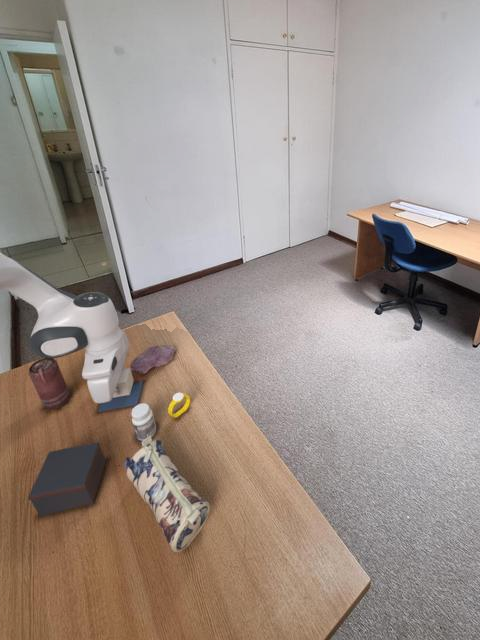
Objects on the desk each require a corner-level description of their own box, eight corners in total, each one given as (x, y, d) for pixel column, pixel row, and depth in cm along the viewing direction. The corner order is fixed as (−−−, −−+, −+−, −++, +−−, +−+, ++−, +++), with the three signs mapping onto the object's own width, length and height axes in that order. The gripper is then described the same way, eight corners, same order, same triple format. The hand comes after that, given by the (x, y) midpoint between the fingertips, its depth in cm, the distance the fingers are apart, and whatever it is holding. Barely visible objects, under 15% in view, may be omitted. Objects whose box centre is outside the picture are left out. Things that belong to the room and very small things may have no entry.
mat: (98, 412, 89) (97, 411, 89) (106, 388, 96) (106, 387, 96) (137, 405, 91) (137, 404, 91) (143, 382, 98) (143, 381, 98)
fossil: (126, 370, 102) (123, 358, 100) (168, 346, 112) (165, 333, 110) (139, 384, 97) (136, 371, 95) (181, 356, 107) (179, 344, 105)
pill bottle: (136, 427, 85) (129, 405, 81) (156, 421, 86) (150, 398, 83) (136, 444, 81) (129, 421, 77) (156, 437, 82) (150, 414, 79)
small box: (106, 398, 89) (101, 385, 87) (111, 384, 94) (107, 371, 92) (129, 394, 91) (125, 381, 88) (133, 380, 95) (130, 367, 93)
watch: (174, 423, 86) (170, 407, 83) (168, 417, 87) (164, 402, 85) (193, 407, 90) (190, 392, 88) (187, 402, 92) (184, 387, 89)
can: (46, 416, 88) (28, 378, 82) (43, 400, 92) (26, 363, 86) (72, 403, 91) (57, 366, 85) (68, 388, 95) (53, 352, 90)
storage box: (39, 516, 67) (27, 497, 64) (58, 470, 75) (48, 451, 72) (93, 504, 69) (84, 484, 66) (106, 460, 77) (99, 441, 74)
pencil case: (127, 482, 73) (117, 455, 69) (163, 453, 79) (156, 426, 75) (179, 568, 60) (171, 540, 56) (218, 526, 66) (212, 498, 62)
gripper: (105, 324, 94) (116, 360, 100) (78, 380, 76) (94, 420, 82) (129, 321, 95) (138, 356, 101) (108, 375, 77) (121, 415, 83)
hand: (118, 385), depth 91 cm, fingers closed on small box, 5 cm apart
